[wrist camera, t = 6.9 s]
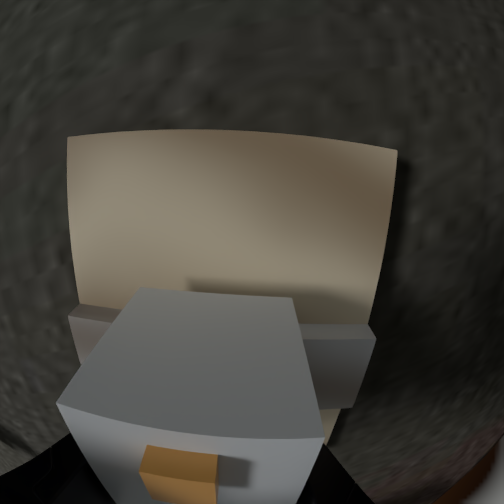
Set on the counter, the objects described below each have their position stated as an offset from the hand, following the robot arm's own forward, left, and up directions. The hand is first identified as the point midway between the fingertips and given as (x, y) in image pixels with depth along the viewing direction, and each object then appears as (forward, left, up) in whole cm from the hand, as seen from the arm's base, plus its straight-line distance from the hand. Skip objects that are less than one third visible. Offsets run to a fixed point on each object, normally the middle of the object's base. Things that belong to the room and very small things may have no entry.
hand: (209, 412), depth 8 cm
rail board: (0, 0, -4) cm, 4 cm away
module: (0, 0, -2) cm, 2 cm away
